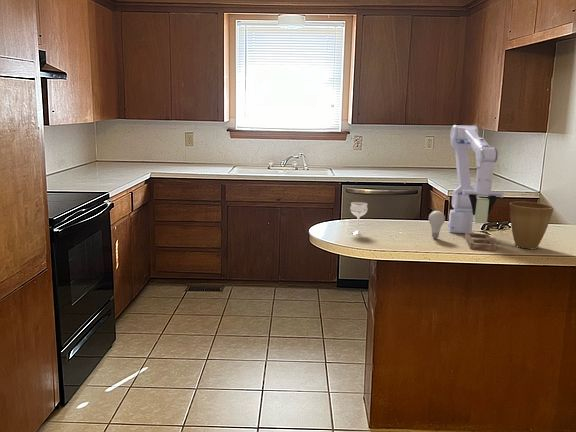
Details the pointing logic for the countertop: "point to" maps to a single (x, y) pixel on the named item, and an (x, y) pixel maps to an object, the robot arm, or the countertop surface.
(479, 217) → the green block
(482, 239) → the pocket rack
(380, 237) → the countertop surface
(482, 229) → the countertop surface
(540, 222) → the plant pot
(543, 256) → the countertop surface
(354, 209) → the wineglass
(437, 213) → the lightbulb
